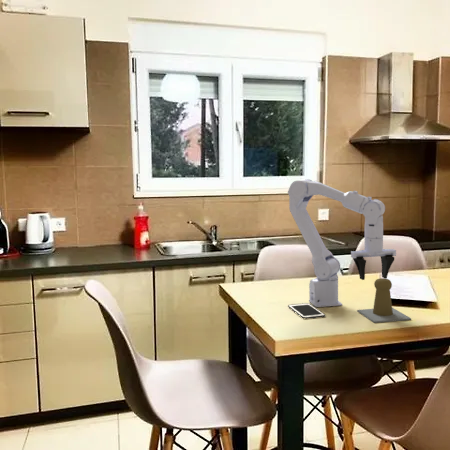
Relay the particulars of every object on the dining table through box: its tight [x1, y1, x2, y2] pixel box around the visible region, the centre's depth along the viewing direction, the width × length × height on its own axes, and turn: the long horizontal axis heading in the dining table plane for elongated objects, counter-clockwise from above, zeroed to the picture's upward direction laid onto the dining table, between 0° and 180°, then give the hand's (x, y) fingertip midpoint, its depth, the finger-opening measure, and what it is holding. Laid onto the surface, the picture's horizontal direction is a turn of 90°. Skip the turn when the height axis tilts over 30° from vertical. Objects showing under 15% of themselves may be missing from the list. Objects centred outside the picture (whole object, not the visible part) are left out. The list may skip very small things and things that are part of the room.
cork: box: [372, 277, 393, 316], centre depth 150 cm, size 6×6×11 cm
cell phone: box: [287, 302, 326, 319], centre depth 156 cm, size 8×15×1 cm, turn 13°
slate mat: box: [356, 307, 412, 324], centre depth 150 cm, size 12×12×1 cm
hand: (373, 278), depth 155 cm, fingers open, 7 cm apart
